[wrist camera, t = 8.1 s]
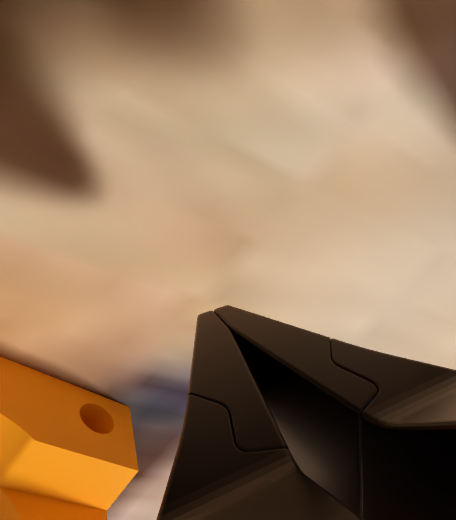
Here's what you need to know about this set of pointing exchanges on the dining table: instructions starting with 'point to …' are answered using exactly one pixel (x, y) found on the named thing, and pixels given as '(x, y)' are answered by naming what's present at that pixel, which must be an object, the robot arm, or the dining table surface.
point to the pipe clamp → (60, 448)
